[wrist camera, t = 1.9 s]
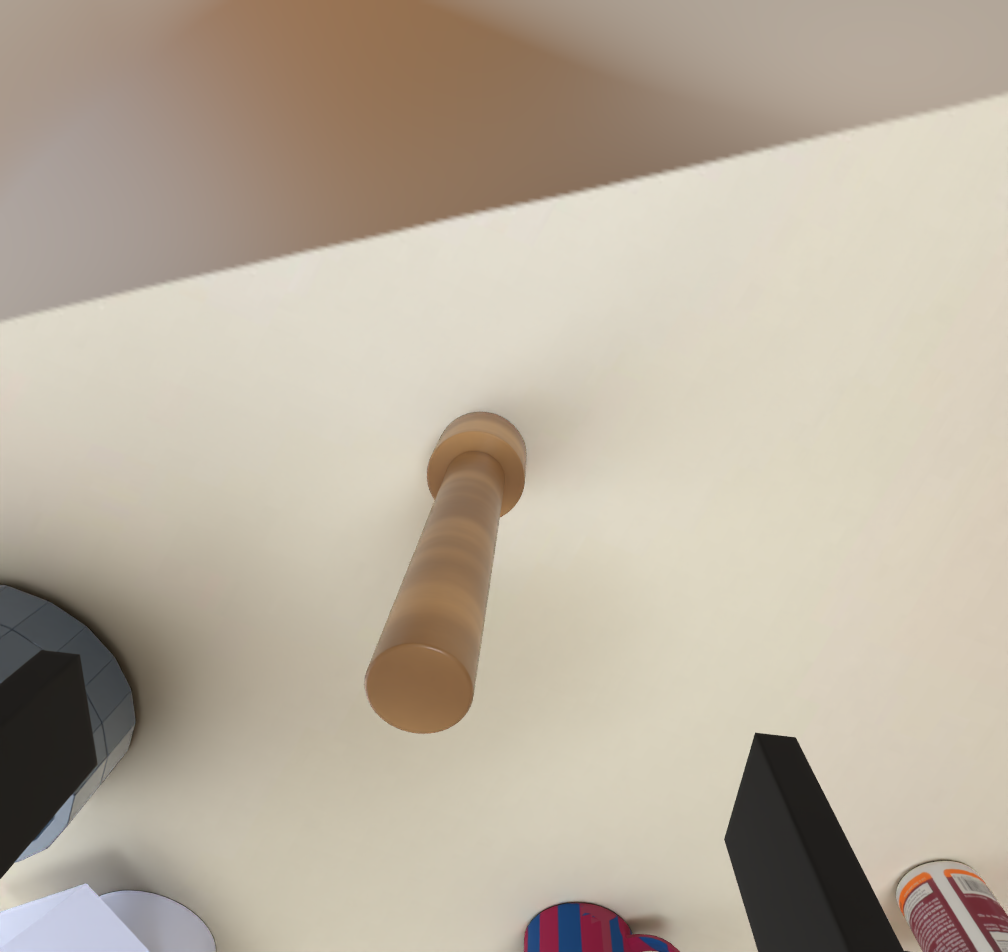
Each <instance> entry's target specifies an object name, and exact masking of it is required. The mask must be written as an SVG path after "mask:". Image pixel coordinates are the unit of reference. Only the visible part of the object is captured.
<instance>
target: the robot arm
mask: <svg viewBox="0 0 1008 952" xmlns="http://www.w3.org/2000/svg"><path fill="white" fill-rule="evenodd" d="M97 765H98V763H97V757H96V750H95V744H94V738H93V732H92V726H91V720H90V714H89V707H88V701H87V695H86V689H85V683H84V677H83V671H82V664H81V658H80V654H72V653H63V652H55V651H46V650H41V651H39V652H38V653H37V654H36V655H35V656H33V657H32V658H31V659H30V660H28V661H27V662H26V663H25V664H24V665H22V666H21V667H20V668H19V669H17V670H16V671H15V672H14V673H13V674H11V675H10V676H9V677H8V678H6V679H5V680H4V681H3V682H2V683H0V879H1V878H2V877H3V875H4V874H5V873H6V872H7V871H8V869H9V868H10V867H11V866H12V865H13V864H14V862H15V861H16V860H17V859H18V858H19V857H20V855H21V854H22V853H23V852H24V851H25V849H26V848H27V847H28V846H29V845H30V844H31V842H32V841H33V840H34V839H35V838H36V836H37V835H38V834H39V833H40V832H41V831H42V829H43V828H44V827H45V826H46V825H47V824H48V822H49V821H50V820H51V819H52V818H53V816H54V815H55V814H56V813H57V812H58V811H59V809H60V808H61V807H62V806H63V805H64V803H65V802H66V801H67V800H68V799H69V798H70V796H71V795H72V794H73V793H74V792H75V791H76V789H77V788H78V787H79V786H80V785H81V783H82V782H83V781H84V780H85V779H86V778H87V776H88V775H89V774H90V773H91V772H92V771H93V769H94V768H95V767H96V766H97ZM724 840H725V843H726V846H727V850H728V853H729V856H730V860H731V863H732V866H733V870H734V873H735V876H736V880H737V883H738V886H739V890H740V893H741V896H742V899H743V903H744V906H745V909H746V913H747V916H748V919H749V923H750V926H751V929H752V933H753V936H754V939H755V942H756V946H757V949H758V952H908V951H904V950H903V948H902V947H901V945H900V943H899V941H898V939H897V937H896V935H895V933H894V931H893V929H892V927H891V925H890V923H889V921H888V919H887V917H886V915H885V913H884V911H883V909H882V907H881V905H880V903H879V901H878V899H877V897H876V895H875V893H874V891H873V889H872V887H871V885H870V883H869V881H868V879H867V877H866V875H865V874H864V872H863V870H862V868H861V866H860V864H859V862H858V860H857V858H856V856H855V854H854V852H853V850H852V848H851V846H850V844H849V842H848V840H847V838H846V836H845V834H844V832H843V830H842V828H841V826H840V824H839V822H838V820H837V818H836V816H835V814H834V812H833V810H832V808H831V806H830V804H829V802H828V801H827V799H826V797H825V795H824V793H823V791H822V789H821V787H820V785H819V783H818V781H817V779H816V777H815V775H814V773H813V771H812V769H811V767H810V765H809V763H808V761H807V759H806V757H805V755H804V753H803V751H802V749H801V747H800V745H799V743H798V741H797V739H796V738H795V737H787V736H778V735H770V734H761V733H755V735H754V739H753V742H752V746H751V749H750V753H749V756H748V759H747V763H746V766H745V770H744V773H743V777H742V780H741V784H740V787H739V790H738V794H737V797H736V801H735V804H734V808H733V811H732V815H731V818H730V821H729V825H728V828H727V832H726V835H725V839H724Z"/></svg>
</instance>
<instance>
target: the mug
mask: <svg viewBox="0 0 1008 952" xmlns="http://www.w3.org/2000/svg"><path fill="white" fill-rule="evenodd" d="M643 951H659V952H680V951H679V950H678V949H676V948H675V947H674V946H673V945H672V944H671V943H670V942H668V941H666V940H664V939H662V938H659V937H657V936H652V935H644V934H633V935H632V932H631V930H630V928H629V926H628V925H627V924H626V923H625V922H624V920H623V919H622V918H620V917H619V916H618V915H617V914H615V913H614V912H612V911H610V910H608V909H606V908H603V907H600V906H597V905H593V904H587V903H566V904H560V905H557V906H553V907H551V908H548V909H546V910H544V911H543V912H541V913H540V914H538V915H537V916H536V917H535V918H534V919H533V920H532V921H531V922H530V924H529V925H528V927H527V929H526V932H525V937H524V952H643Z"/></svg>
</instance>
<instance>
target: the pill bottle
mask: <svg viewBox="0 0 1008 952" xmlns="http://www.w3.org/2000/svg"><path fill="white" fill-rule="evenodd" d="M896 900H897V903H898V906H899V908H900V910H901V912H902V913H903V915H904V917H905V919H906V921H907V923H908V925H909V927H910V929H911V931H912V932H913V934H914V936H915V938H916V940H917V942H918V943H919V945H920V947H921V949H922V951H923V952H1008V916H1007V914H1006V913H1005V911H1004V910H1003V908H1002V907H1001V905H1000V904H999V903H998V901H997V899H996V898H995V896H994V895H993V893H992V892H991V891H990V889H989V888H988V887H987V885H986V884H985V882H984V881H983V879H982V878H981V877H980V875H979V874H978V873H977V872H976V871H975V870H973V869H972V868H971V867H969V866H967V865H965V864H962V863H958V862H953V861H936V862H930V863H926V864H923V865H920V866H918V867H916V868H914V869H912V870H911V871H910V872H908V873H907V874H906V875H905V876H904V877H903V878H902V880H901V881H900V882H899V885H898V887H897V890H896Z"/></svg>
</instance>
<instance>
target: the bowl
mask: <svg viewBox="0 0 1008 952" xmlns="http://www.w3.org/2000/svg"><path fill="white" fill-rule="evenodd" d="M41 650H46V651H55V652H63V653H72V654H80V658H81V664H82V671H83V677H84V683H85V689H86V695H87V701H88V707H89V714H90V720H91V726H92V732H93V738H94V744H95V750H96V757H97V763H98V765H97V766H96V767H95V768H94V769H93V771H92V772H91V773H90V774H89V775H88V776H87V778H86V779H85V780H84V781H83V782H82V783H81V785H80V786H79V787H78V788H77V789H76V791H75V792H74V793H73V794H72V795H71V796H70V798H69V799H68V800H67V801H66V802H65V803H64V805H63V806H62V807H61V808H60V809H59V811H58V812H57V813H56V814H55V815H54V816H53V818H52V819H51V820H50V821H49V822H48V824H47V825H46V826H45V827H44V828H43V829H42V831H41V832H40V833H39V834H38V835H37V836H36V838H35V839H34V840H33V841H32V842H31V844H30V845H29V846H28V847H27V848H26V849H25V851H24V852H23V853H22V854H21V855H20V857H19V858H18V859H17V860H16V861H15V862H19V861H21V860H24V859H26V858H28V857H30V856H32V855H34V854H36V853H38V852H41V851H43V850H45V849H47V848H48V847H49V846H50V845H51V844H52V843H53V842H54V841H55V840H56V838H57V837H58V836H59V835H60V834H61V833H62V832H63V830H64V829H65V828H66V827H67V826H68V825H69V823H70V822H71V821H72V820H73V818H74V817H75V816H76V815H77V813H78V812H79V811H80V810H81V808H82V807H83V806H84V805H85V803H86V802H87V801H88V800H89V798H90V797H91V796H92V795H93V793H94V792H95V791H96V790H97V788H98V787H99V786H100V785H101V783H102V782H103V781H104V780H105V778H106V777H107V776H108V775H109V773H110V772H111V771H112V770H113V768H114V767H115V766H116V765H117V763H118V762H119V761H120V760H121V758H122V757H123V756H124V755H125V753H126V752H127V751H128V748H129V745H130V741H131V737H132V734H133V730H134V727H135V722H136V719H135V712H134V704H133V697H132V691H131V688H130V686H129V684H128V682H127V680H126V678H125V676H124V674H123V672H122V670H121V668H120V666H119V664H118V662H117V660H116V658H115V657H114V656H113V654H112V653H111V652H110V651H109V650H108V649H107V648H106V647H105V646H104V645H103V644H102V642H101V641H100V640H99V639H98V638H97V637H96V636H95V635H94V634H93V633H92V632H91V630H90V629H89V628H88V627H86V625H84V624H83V623H81V622H80V621H78V620H77V619H75V618H74V617H72V616H71V615H69V614H68V613H66V612H65V611H63V610H62V609H60V608H59V607H57V606H56V605H55V604H53V603H52V602H49V601H47V600H44V599H42V598H39V597H37V596H34V595H31V594H29V593H26V592H23V591H21V590H18V589H15V588H13V587H10V586H7V585H0V683H2V682H3V681H4V680H5V679H6V678H8V677H9V676H10V675H11V674H13V673H14V672H15V671H16V670H17V669H19V668H20V667H21V666H22V665H24V664H25V663H26V662H27V661H28V660H30V659H31V658H32V657H33V656H35V655H36V654H37V653H38V652H39V651H41Z"/></svg>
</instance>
